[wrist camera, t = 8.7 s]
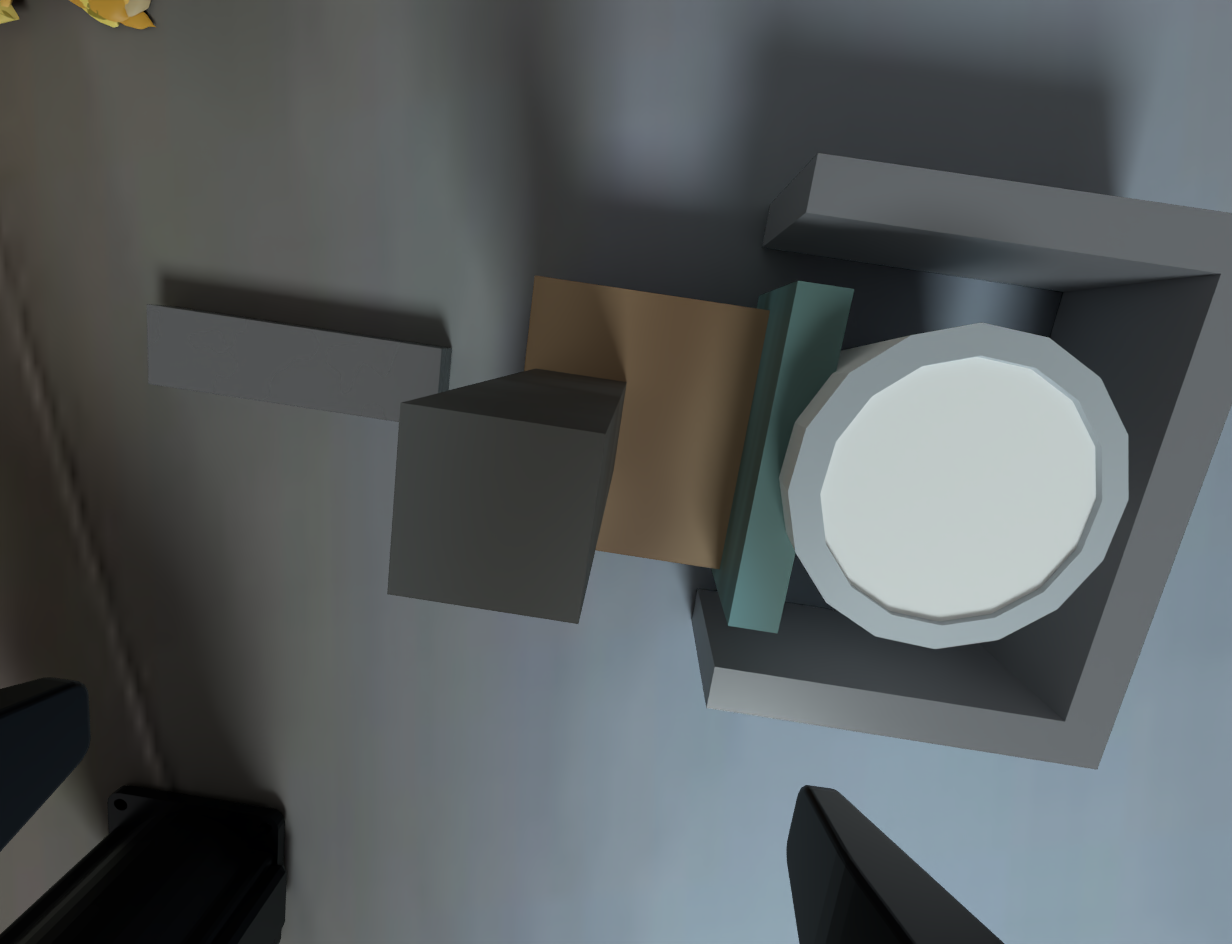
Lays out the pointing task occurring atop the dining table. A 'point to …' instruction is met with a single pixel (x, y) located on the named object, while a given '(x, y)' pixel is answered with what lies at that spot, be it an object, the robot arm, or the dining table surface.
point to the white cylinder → (954, 483)
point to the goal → (1141, 393)
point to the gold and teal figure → (99, 12)
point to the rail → (290, 363)
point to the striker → (616, 451)
